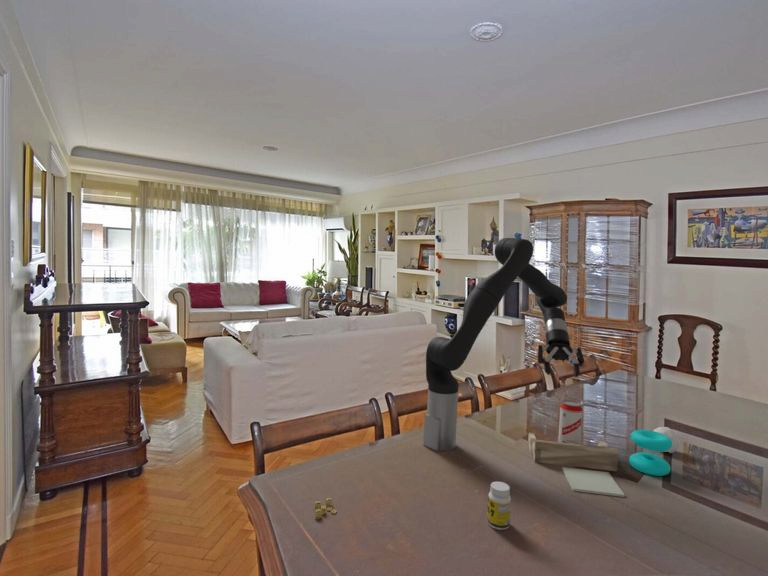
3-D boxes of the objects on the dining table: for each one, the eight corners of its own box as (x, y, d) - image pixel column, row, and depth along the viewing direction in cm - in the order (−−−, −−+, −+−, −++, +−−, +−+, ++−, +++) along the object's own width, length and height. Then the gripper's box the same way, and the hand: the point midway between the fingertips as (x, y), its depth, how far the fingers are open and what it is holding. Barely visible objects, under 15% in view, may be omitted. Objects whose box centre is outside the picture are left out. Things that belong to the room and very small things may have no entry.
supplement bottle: (483, 517, 95) (485, 480, 94) (504, 517, 95) (506, 480, 95) (491, 530, 90) (493, 491, 90) (513, 530, 91) (515, 491, 90)
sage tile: (624, 497, 106) (624, 494, 106) (572, 490, 108) (573, 488, 108) (608, 474, 118) (608, 472, 118) (561, 469, 120) (562, 467, 120)
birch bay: (617, 471, 120) (618, 450, 120) (534, 462, 124) (535, 441, 124) (602, 452, 132) (603, 433, 132) (527, 444, 136) (528, 426, 136)
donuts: (635, 438, 119) (627, 426, 128) (633, 473, 119) (625, 458, 129) (677, 444, 115) (666, 431, 125) (675, 480, 116) (664, 465, 125)
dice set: (315, 522, 92) (315, 513, 92) (310, 509, 96) (310, 501, 96) (338, 518, 94) (338, 509, 94) (331, 505, 98) (332, 497, 98)
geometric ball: (669, 459, 136) (688, 441, 134) (664, 457, 130) (684, 439, 129) (647, 440, 141) (665, 423, 140) (642, 437, 135) (661, 419, 134)
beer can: (582, 461, 126) (585, 407, 125) (559, 458, 127) (562, 405, 126) (577, 452, 132) (580, 400, 131) (555, 449, 133) (558, 398, 132)
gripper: (537, 326, 150) (541, 366, 139) (580, 329, 147) (588, 370, 137) (533, 339, 155) (538, 378, 144) (575, 342, 153) (583, 382, 142)
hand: (562, 374), depth 140 cm, fingers open, 8 cm apart
